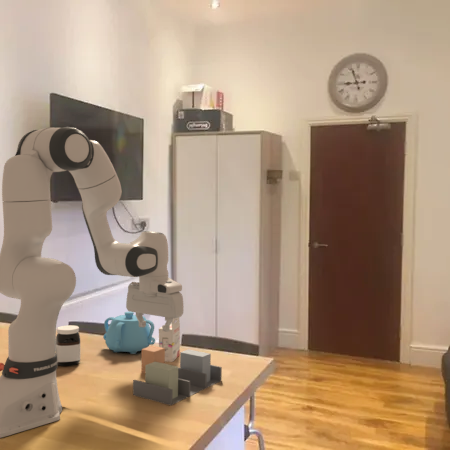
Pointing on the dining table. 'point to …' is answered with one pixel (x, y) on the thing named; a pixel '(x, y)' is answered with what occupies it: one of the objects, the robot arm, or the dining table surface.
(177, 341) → the ink cartridge box
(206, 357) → the blue-grey block
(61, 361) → the spread jar
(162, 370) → the sage block
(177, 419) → the dining table surface
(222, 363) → the dining table surface
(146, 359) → the terracotta plug
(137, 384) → the slot rack
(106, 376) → the dining table surface
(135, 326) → the decorative pot
